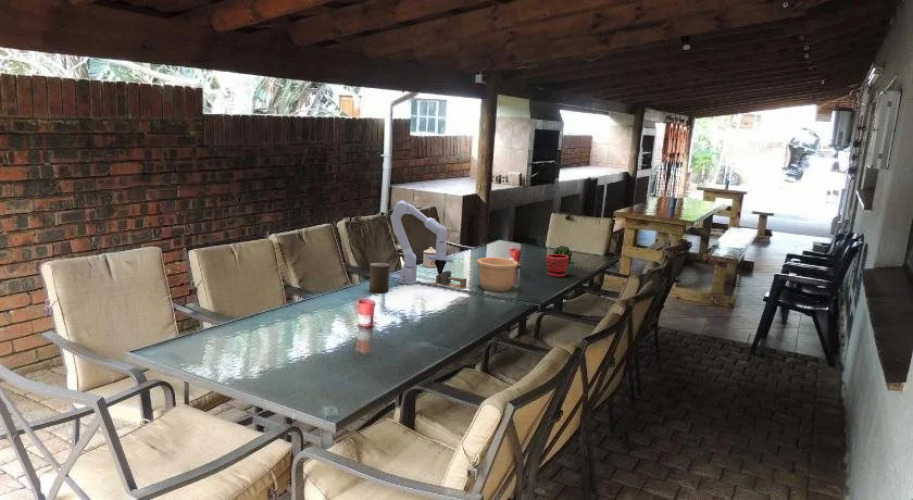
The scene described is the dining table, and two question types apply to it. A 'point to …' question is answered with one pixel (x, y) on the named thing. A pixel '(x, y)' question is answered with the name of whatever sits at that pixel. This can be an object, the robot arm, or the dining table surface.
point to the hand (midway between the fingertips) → (439, 274)
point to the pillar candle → (379, 277)
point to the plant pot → (557, 265)
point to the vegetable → (563, 251)
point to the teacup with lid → (427, 261)
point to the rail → (461, 286)
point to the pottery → (496, 273)
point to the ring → (445, 277)
